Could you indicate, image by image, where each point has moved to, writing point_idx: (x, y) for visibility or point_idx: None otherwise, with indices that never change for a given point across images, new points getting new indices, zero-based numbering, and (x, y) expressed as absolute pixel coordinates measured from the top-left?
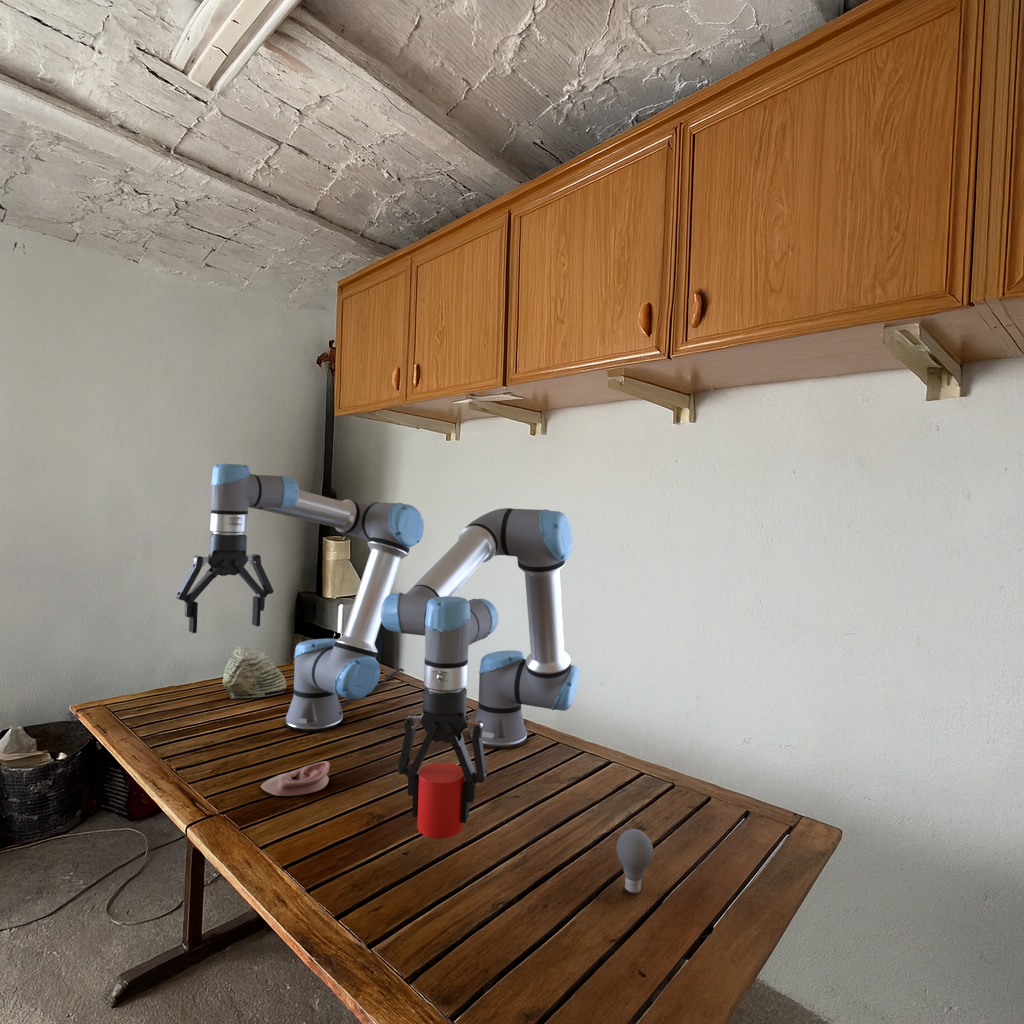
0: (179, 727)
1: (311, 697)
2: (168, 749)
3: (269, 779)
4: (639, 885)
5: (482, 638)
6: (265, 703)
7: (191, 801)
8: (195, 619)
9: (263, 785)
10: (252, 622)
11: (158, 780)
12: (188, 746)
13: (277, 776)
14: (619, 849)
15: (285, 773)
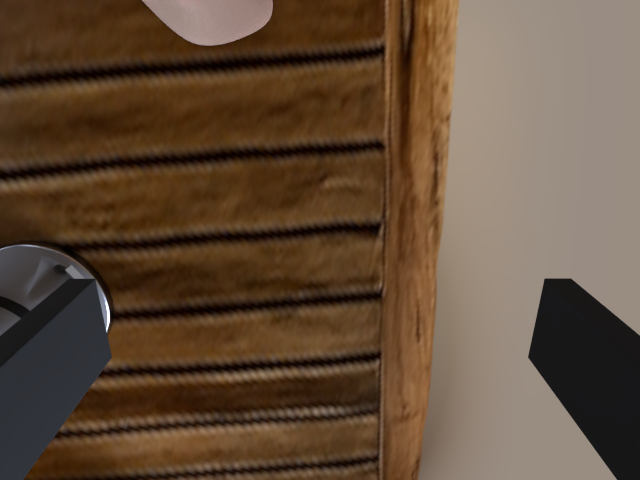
0: (304, 420)
1: (18, 305)
2: (357, 331)
3: (246, 22)
4: None
5: None
6: (117, 453)
7: (412, 51)
8: (623, 336)
9: (267, 5)
10: (103, 361)
11: (424, 197)
12: (321, 324)
13: (229, 11)
14: None
15: (208, 10)
